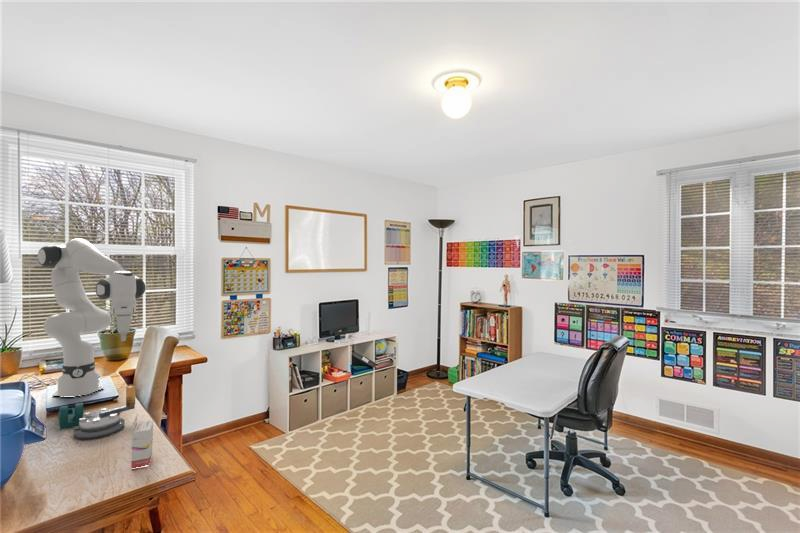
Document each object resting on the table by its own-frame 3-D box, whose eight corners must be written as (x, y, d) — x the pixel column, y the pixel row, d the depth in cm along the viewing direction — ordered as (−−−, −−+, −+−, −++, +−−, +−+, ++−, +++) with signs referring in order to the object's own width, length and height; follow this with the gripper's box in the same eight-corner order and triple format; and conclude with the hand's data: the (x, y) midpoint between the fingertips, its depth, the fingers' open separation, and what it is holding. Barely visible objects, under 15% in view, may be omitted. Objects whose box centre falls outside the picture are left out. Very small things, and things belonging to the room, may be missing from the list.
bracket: (83, 425, 149) (83, 405, 148) (60, 430, 144) (60, 409, 144) (79, 411, 162) (79, 393, 161) (58, 415, 157) (58, 396, 157)
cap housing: (75, 428, 145) (75, 422, 145) (124, 419, 154) (124, 413, 154) (71, 444, 133) (71, 437, 133) (124, 433, 142) (124, 427, 142)
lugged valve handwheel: (86, 434, 135) (86, 401, 135) (74, 426, 142) (74, 394, 142) (141, 418, 150) (141, 388, 150) (128, 411, 157) (128, 382, 156)
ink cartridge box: (150, 467, 120) (150, 420, 120) (130, 470, 117) (131, 423, 117) (153, 454, 127) (153, 410, 127) (135, 457, 125) (135, 413, 125)
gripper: (115, 306, 172) (114, 337, 173) (114, 311, 156) (113, 345, 156) (132, 305, 176) (131, 335, 176) (133, 310, 160) (132, 344, 160)
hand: (123, 340), depth 166 cm, fingers closed
